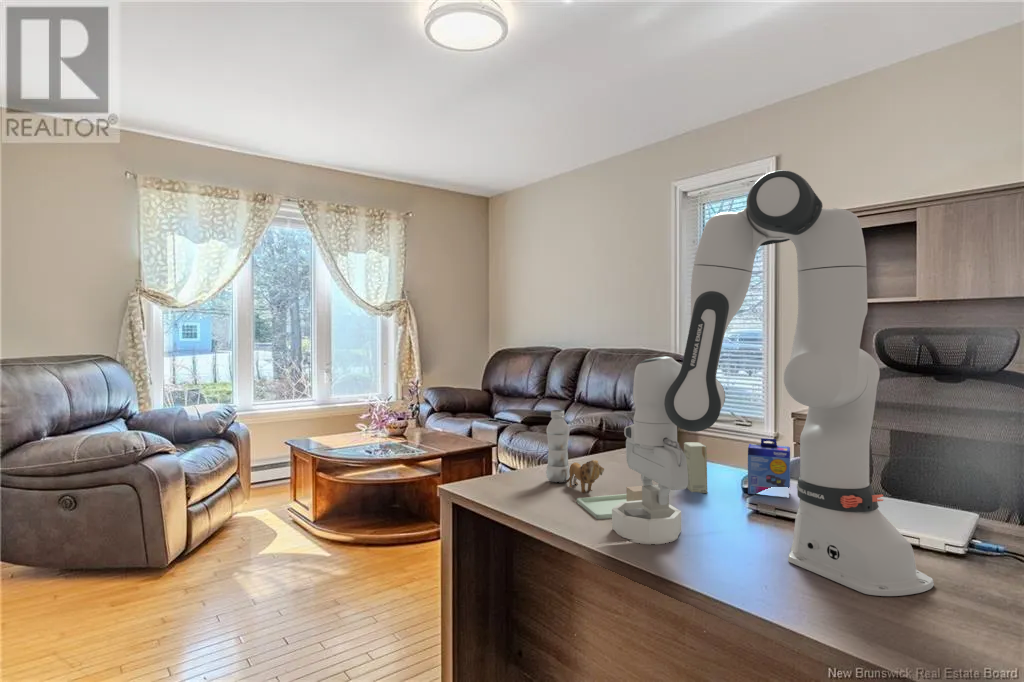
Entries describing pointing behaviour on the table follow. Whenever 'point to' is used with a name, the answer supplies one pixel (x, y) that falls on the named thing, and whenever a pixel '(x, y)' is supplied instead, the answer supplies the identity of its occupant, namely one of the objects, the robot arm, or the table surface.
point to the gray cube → (637, 513)
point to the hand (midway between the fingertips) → (655, 500)
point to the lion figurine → (585, 474)
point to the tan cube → (634, 493)
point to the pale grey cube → (652, 498)
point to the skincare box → (696, 466)
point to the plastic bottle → (557, 448)
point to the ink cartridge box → (768, 466)
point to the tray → (601, 504)
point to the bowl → (647, 524)
